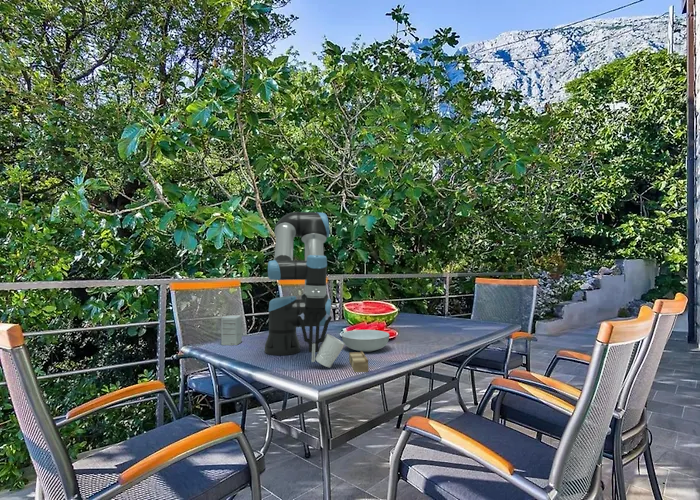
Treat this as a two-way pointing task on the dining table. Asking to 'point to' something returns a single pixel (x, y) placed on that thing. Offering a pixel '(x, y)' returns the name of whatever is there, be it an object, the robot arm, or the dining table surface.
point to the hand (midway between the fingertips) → (313, 361)
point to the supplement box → (231, 330)
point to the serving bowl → (365, 340)
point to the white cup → (329, 350)
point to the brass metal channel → (358, 361)
